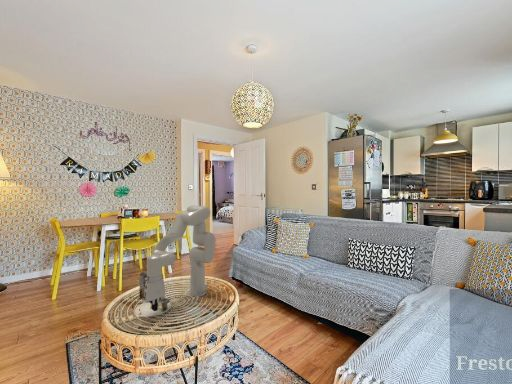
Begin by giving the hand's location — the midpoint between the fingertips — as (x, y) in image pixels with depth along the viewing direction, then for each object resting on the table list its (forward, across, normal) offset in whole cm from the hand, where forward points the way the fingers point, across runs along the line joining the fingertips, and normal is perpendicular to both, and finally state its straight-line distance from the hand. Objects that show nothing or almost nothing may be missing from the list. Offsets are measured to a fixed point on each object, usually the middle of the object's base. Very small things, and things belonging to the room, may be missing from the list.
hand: (154, 309), depth 137 cm
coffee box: (+4, +8, +26) cm, 27 cm away
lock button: (+1, +9, +10) cm, 14 cm away
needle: (+2, +5, +4) cm, 6 cm away
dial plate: (+4, +3, +8) cm, 9 cm away
